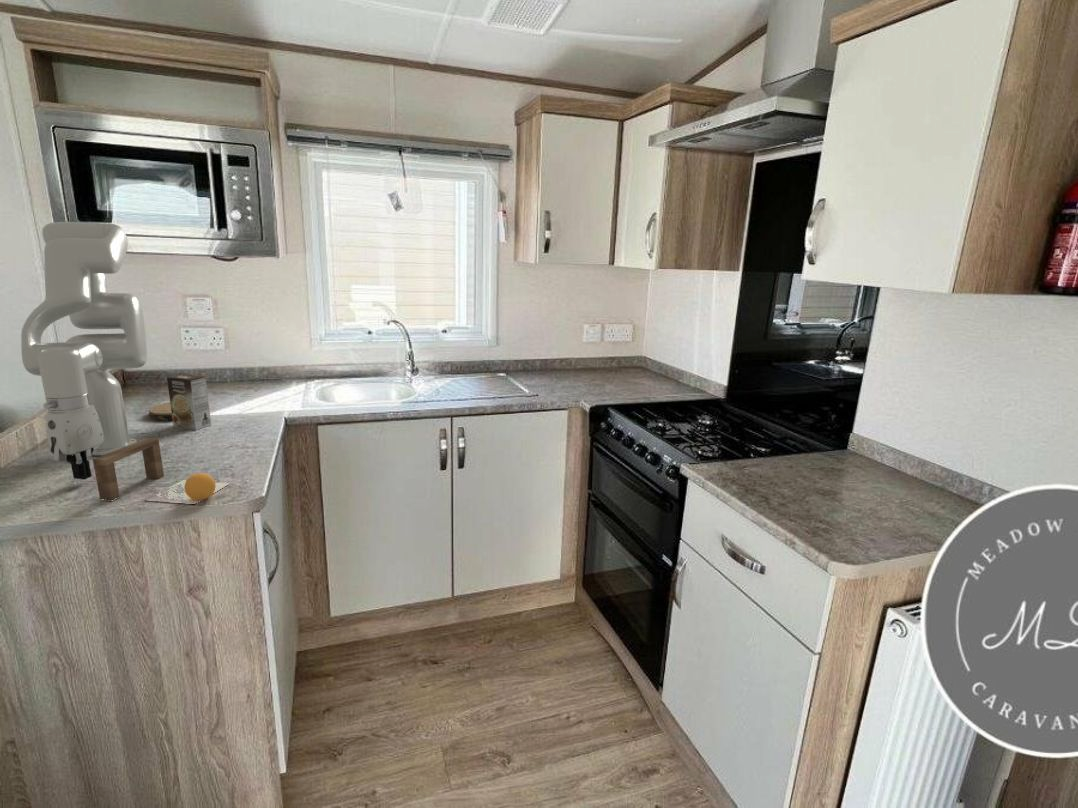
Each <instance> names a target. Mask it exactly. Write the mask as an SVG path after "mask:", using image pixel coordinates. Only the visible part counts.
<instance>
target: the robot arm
mask: <svg viewBox="0 0 1078 808" xmlns="http://www.w3.org/2000/svg"><path fill="white" fill-rule="evenodd" d="M41 234H42V238H43V240H44V241H43V242H44V249H43V250H44V251H43V254H44V283H45V284H44V285H45V287H44V288H45V289H44V291H45V297H44V300H43V302H41V303H40V304H39V305H38V306H36V308H35V309H33V310H32V312H31V313H30V314H29V315H28V317H27V318H26V320H25V321H24V323H23V326H22V328H21V333H20V337H21V339H20V340H21V343H20V344H21V345H20V348H21V360H22V364H23V368H24V369H25V370H26V371H27V373H29V374H31V375H32V376H33V375H34V376H37V377H39V376H40V377H41V378H40V379H41V383H42V387H43V392H44V396H45V403H44V404H43V408H44V409H46V410H47V411H46V413H45V430H46V431H45V432H46V439H47V440H46V441H47V444H48V449H49V451H50V453H51V454H53V460H54V461H56V462H66V463H68V464H70V466H71V472H72V476H73V479H75V480H87V479H88V478H89V479H90V478H92V469H91V465H90V461H91V460H92V456H94V457H95V456H96V457H99V456H102V455H105V454H107V453H110V452H112V451H115V450H118V449H120V448H123V447H125V446H128V445H130V444H133V443H135V442H138V440H137V439H135V438H132V437H130V434H129V429H128V423H127V422H128V421H127V417H126V415H127V414H126V410H125V402H124V399H123V392H122V386H121V384H120V382H119V380H118V379H117V378H116V377H115V376H114V375H113V374H112V373H110V372H109V371H111V370H124V369H125V370H126V369H138V368H139V369H140V368H141V367H144V366H145V365H146V363H147V360H148V350H147V349H148V347H147V339H146V329H145V328H146V326H145V319H144V311H143V307H142V305H141V302H140V300H139V298H138V297H137V296H136V295H133V294H131V293H126V292H125V293H124V292H108V289H107V288H108V287H107V286H108V285H107V277H106V275H110V274H111V275H112V274H116V273H118V272H119V271H120V270H121V268H122V266H123V263H124V260H125V257H126V255H127V251H128V237H127V234H126V232H125V230H124V228H122V227H121V226H120V225H119V224H118V225H117V224H115V223H106V222H105V223H104V222H83V221H82V222H81V221H58V222H57V221H56V222H54V221H53V222H50V223H47V224H44V226H43V228H42V231H41ZM68 316H69V319H70V320H69V321H70V322H71V324H72V325H73V326H74V327H76V328H78V329H80V330H81V329H82V330H122V331H123V332H122V333H120V332H119V333H85V334H79V335H78V334H77V335H74V336H72V337H70V338H68V339H67V340H66V341H64V342H62V341H61V342H42V337H43V334H44V332H45V330H46V329H47V328H48V327H49V326H51V325H52V324H54V323H55V322H56V321H58V320H60V319H64V318H65V317H68Z"/></svg>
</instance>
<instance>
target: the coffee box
mask: <svg viewBox="0 0 1078 808" xmlns="http://www.w3.org/2000/svg"><path fill="white" fill-rule="evenodd" d="M206 376H207V375H206ZM206 376H205V375H201V374H194V373H193V374H192V373H185V372H183V373H179V374H175V375H171V376H167V377H166V381H167V382H166V383H167V390H168V397H169V402H170V405H171V412H172V419H173V421H172V424H173V427H174V428H179V429H186V430H193V431H198V430H200V429H203V428H207V427H209V426H211V425H212V419H211V411H210V402H209V394H208V386H207V377H206Z"/></svg>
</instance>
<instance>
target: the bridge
mask: <svg viewBox="0 0 1078 808" xmlns="http://www.w3.org/2000/svg"><path fill="white" fill-rule="evenodd" d="M159 440H160V439H159V438H155V437H153V438H152V437H145V438H143V439H141V440H137V442H135V443H133V444H130V445H128V446H125V447H123V448H120V449H118V450H115V451H112V452H110V453H107V454H105V455H99V456H96V457H95V458H92V464H93V469H94V474H95V478H96V484H97V490H98V495H99V500H100V499H104V500H105V499H106V500H114V499H115V498H118V497H120V498H121V495H120V489H119V484H118V478H117V472H116V467H115V462H118V461H120V460H122V459H124V458H128V457H130V456H132V455H135V454H137V453H139V452H142V458H143V459H142V460H143V464H144V465H143V466H144V471H145V476H146V479H148V478H154V479H153V480H159V479H161V478H160V477H162V478H164V477H165V475H164V467H163V460H162V453H161V446H160V441H159ZM163 476H164V477H163Z"/></svg>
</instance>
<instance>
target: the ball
mask: <svg viewBox="0 0 1078 808" xmlns="http://www.w3.org/2000/svg"><path fill="white" fill-rule="evenodd" d="M186 480H187V481H186V482H185V486H184V488H185V492H186V494H187V495H188V496H189V497H190V498H192V499H195V500H202V501H204V500H205V499H208V498H210V497H211V496H212V494H213V492H214V491H215V487H216V484H215V482H216V481H215V478H214V477H212V476H211V475H210V474H208V473H205V472H198V473H193V474H192V475H190V476H189V477H188V478H187V479H186ZM213 495H214V494H213ZM203 499H204V500H203Z"/></svg>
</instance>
